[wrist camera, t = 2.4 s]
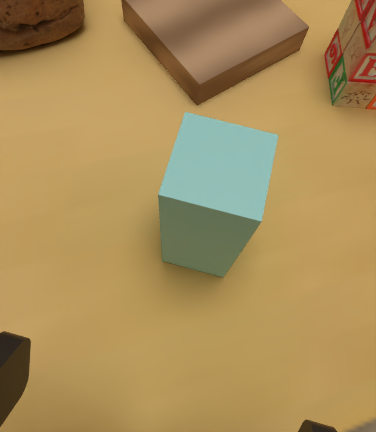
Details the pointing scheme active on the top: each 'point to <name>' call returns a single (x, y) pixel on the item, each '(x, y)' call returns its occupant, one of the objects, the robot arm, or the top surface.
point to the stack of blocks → (354, 57)
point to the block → (37, 21)
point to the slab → (215, 39)
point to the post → (213, 192)
